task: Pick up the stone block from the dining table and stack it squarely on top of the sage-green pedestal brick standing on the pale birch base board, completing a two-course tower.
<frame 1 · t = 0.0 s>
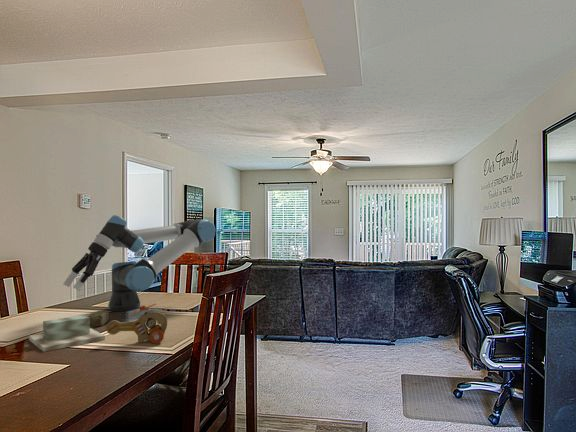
hand: (70, 287, 178), 15 cm above the table, tool tilted 35°, fingers open, 13 cm apart
stone block: (98, 324, 175), on the table
toy helicopter: (140, 342, 149), on the table
tower base: (66, 339, 152), on the table
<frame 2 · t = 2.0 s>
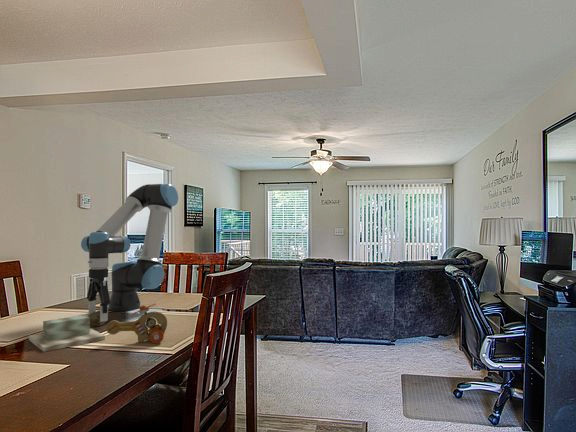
hand: (97, 318, 175), 2 cm above the table, tool pointing down, fingers open, 13 cm apart
nothing on the table moved.
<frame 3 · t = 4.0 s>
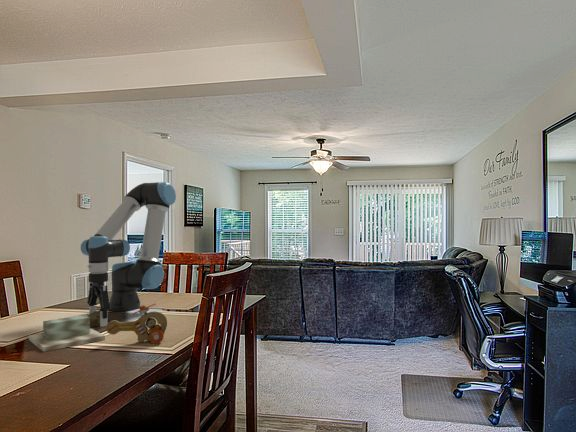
hand: (98, 323, 175), 0 cm above the table, tool pointing down, fingers open, 12 cm apart
stone block: (97, 324, 175), on the table, touching gripper
everything else where it was.
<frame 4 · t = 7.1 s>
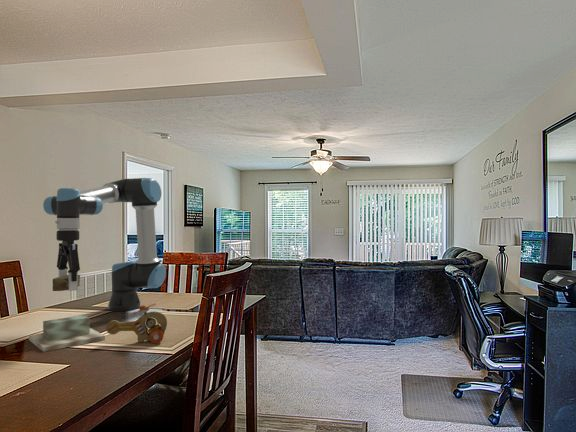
hand: (67, 288, 153), 19 cm above the table, tool pointing down, fingers closed on stone block, 12 cm apart
stone block: (66, 289, 153), point 18 cm above the table, touching gripper
everything else where it was.
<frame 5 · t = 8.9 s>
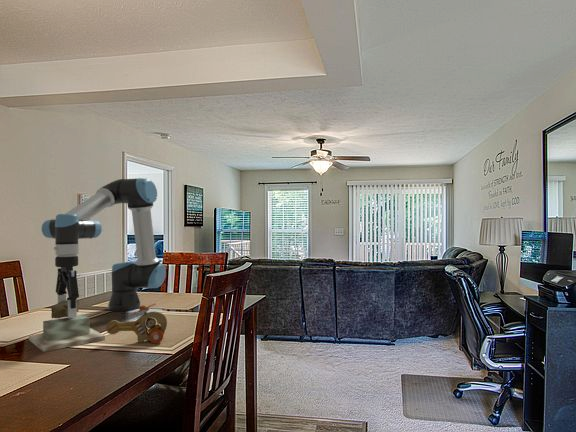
hand: (66, 314, 152), 9 cm above the table, tool pointing down, fingers closed on stone block, 12 cm apart
stone block: (65, 316, 152), point 9 cm above the table, touching gripper
everything else where it was.
when the fingers open (9 cm above the table, at t = 10.1 s): stone block stays where it is, resting on tower base.
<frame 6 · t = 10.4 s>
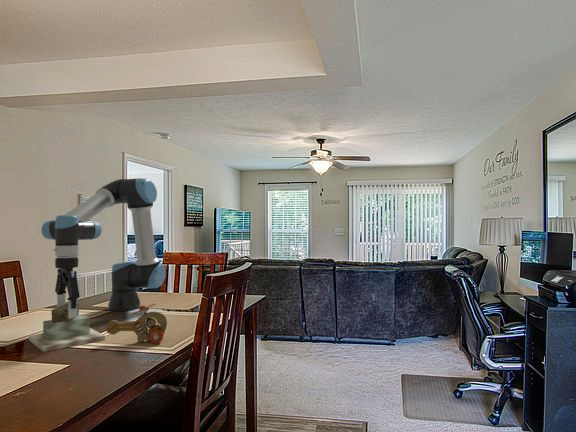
hand: (66, 314, 152), 9 cm above the table, tool pointing down, fingers open, 13 cm apart
stone block: (65, 320, 152), point 7 cm above the table, touching tower base
everything else where it was.
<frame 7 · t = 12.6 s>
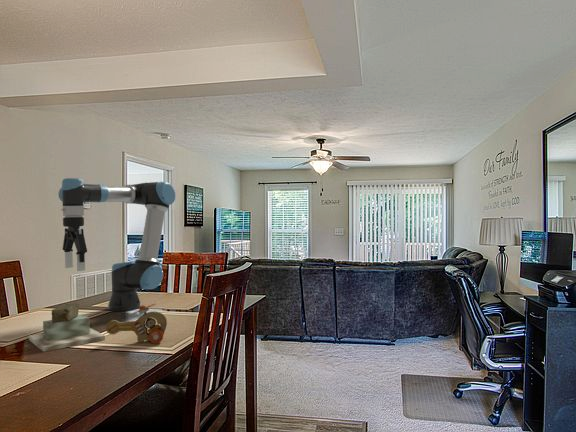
hand: (75, 269, 167), 24 cm above the table, tool pointing down, fingers open, 13 cm apart
nothing on the table moved.
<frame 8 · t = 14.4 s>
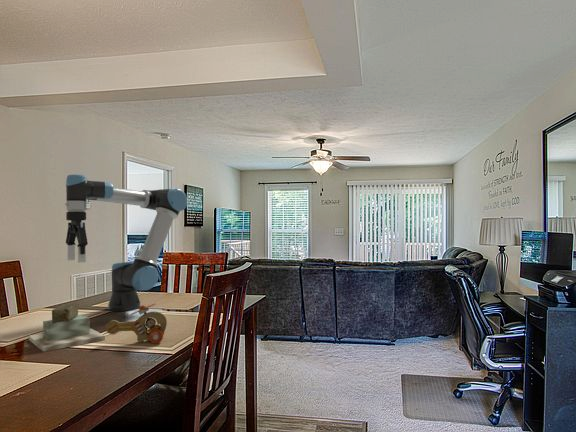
hand: (76, 261, 175), 27 cm above the table, tool pointing down, fingers open, 13 cm apart
nothing on the table moved.
at the end: stone block 0.4 cm off-centre on the tower base, point 7.3 cm above the tower base's base; stone block tilted 0°; the gripper is holding nothing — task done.
